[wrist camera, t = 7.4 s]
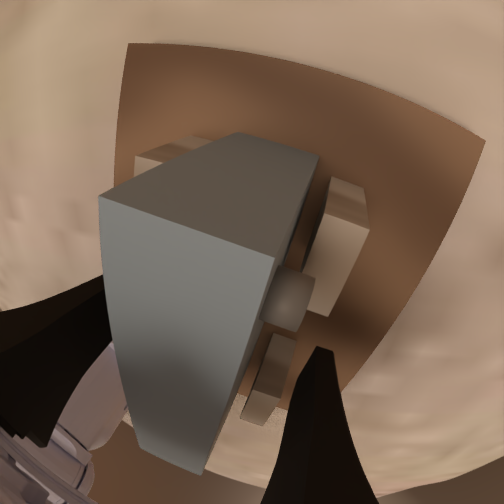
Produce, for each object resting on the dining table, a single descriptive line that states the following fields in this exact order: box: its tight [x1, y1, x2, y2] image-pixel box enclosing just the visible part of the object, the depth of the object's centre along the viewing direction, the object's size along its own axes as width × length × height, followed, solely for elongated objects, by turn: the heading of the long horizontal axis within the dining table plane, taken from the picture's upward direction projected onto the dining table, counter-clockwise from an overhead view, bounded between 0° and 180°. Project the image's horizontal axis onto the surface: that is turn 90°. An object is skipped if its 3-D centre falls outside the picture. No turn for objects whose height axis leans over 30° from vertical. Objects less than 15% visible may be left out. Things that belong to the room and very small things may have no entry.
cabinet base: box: [114, 43, 486, 426], centre depth 13 cm, size 18×14×5 cm
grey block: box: [98, 132, 319, 475], centre depth 10 cm, size 12×4×7 cm, turn 167°
